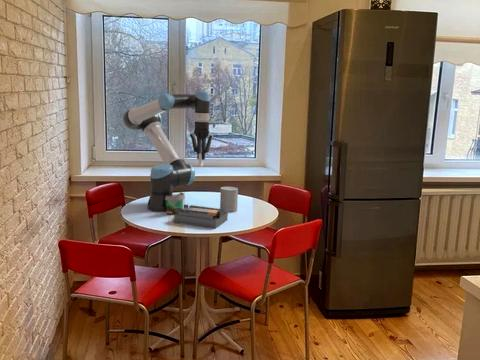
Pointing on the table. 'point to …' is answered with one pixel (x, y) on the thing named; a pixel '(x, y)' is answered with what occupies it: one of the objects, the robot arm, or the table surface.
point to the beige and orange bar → (200, 211)
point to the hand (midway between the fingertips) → (200, 165)
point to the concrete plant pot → (229, 199)
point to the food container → (174, 203)
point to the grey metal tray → (201, 217)
